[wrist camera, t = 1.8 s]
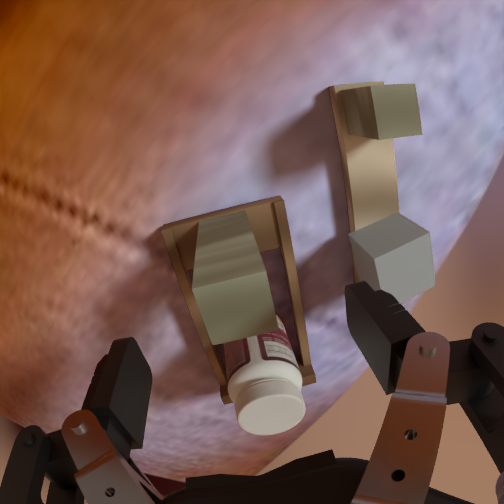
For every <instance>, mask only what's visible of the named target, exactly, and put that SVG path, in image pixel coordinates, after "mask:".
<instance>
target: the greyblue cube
mask: <svg viewBox="0 0 504 504" xmlns="http://www.w3.org/2000/svg"><path fill="white" fill-rule="evenodd" d="M348 236H349V240H350V243H351V247H352V250H353V254H354V258H355V262H356V265H357V269H358V273H359V277H360V281H366V282H367V283H368V284H369V285H370V286H371V288H372V289H373V290H374V291H377V290H380V289H381V290H383V291H385V292H388V293H390V294H392V295H393V296H394V297H395V298H396V299H397V300H398V302H399V304H401V303H403V302H405V301H407V300H408V299H410V298H412V297H414V296H416V295H418V294H420V293H422V292H424V291H425V290H427V289H429V288H431V287H433V286H434V285H435V274H434V263H433V254H432V245H431V237H430V232H429V231H427V230H426V229H424V228H422V227H421V226H419V225H418V224H416V223H414V222H413V221H411V220H410V219H408V218H406V217H405V216H403V215H401V214H400V213H398V212H397V213H394V214H392V215H390V216H388V217H385V218H383V219H381V220H379V221H376V222H374V223H372V224H370V225H367V226H365V227H363V228H360V229H358V230H356V231H354V232H351V233H349V234H348Z"/></svg>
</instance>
